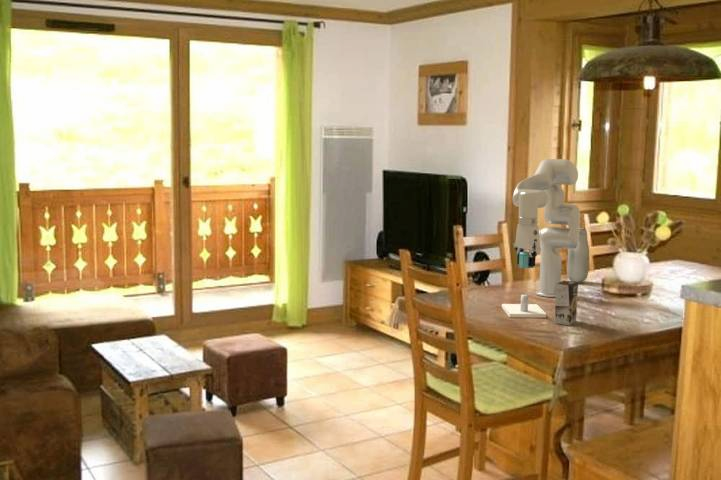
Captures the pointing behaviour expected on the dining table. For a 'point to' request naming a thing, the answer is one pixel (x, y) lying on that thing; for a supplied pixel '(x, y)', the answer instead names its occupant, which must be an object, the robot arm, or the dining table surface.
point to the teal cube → (524, 259)
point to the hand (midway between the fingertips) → (526, 264)
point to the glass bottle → (579, 259)
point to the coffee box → (566, 302)
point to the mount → (524, 309)
